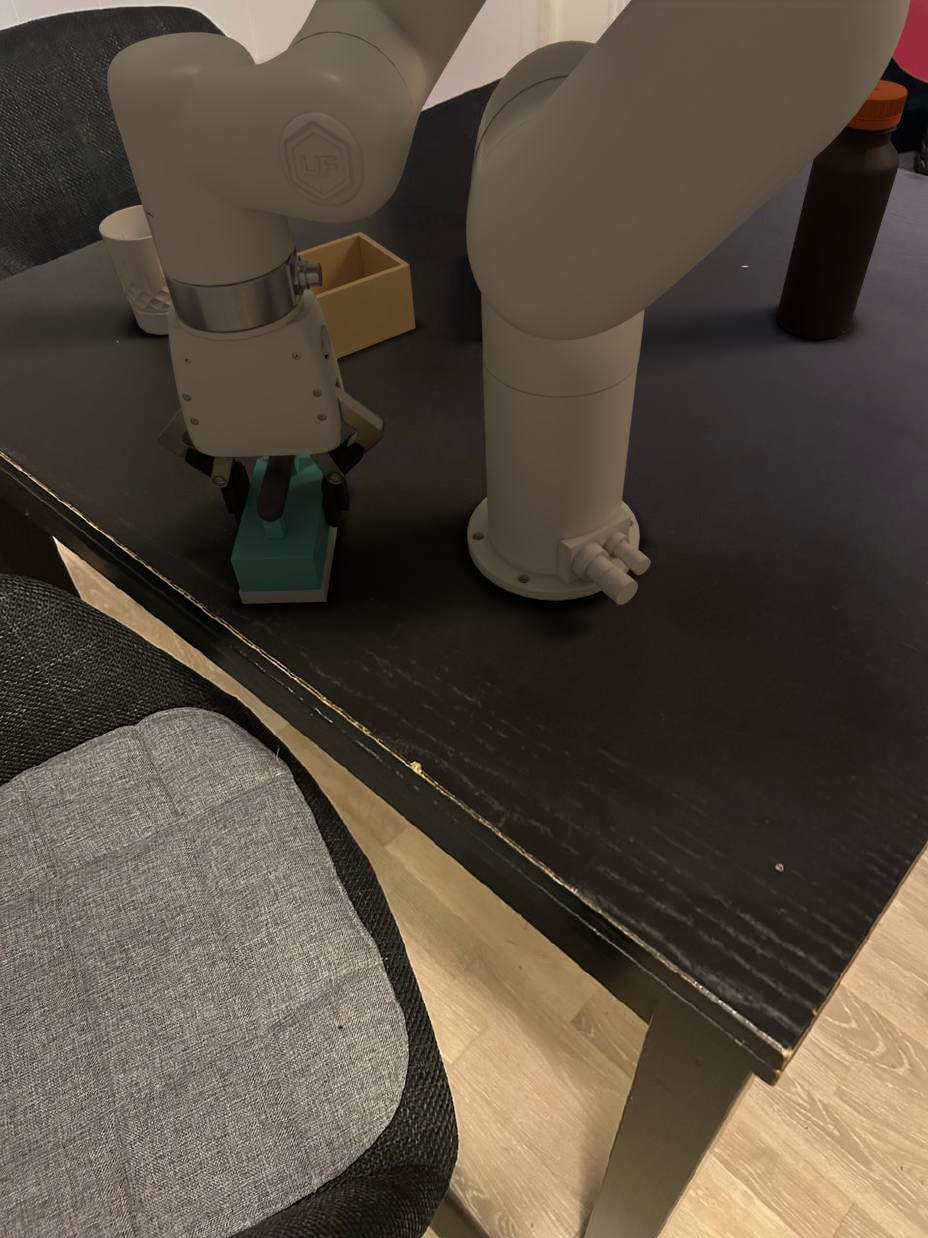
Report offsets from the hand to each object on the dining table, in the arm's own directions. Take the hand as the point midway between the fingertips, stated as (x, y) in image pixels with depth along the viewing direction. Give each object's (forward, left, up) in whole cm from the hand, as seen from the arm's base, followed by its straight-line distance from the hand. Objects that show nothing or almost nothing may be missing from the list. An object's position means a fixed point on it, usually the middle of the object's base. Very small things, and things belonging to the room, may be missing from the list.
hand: (291, 514), depth 65 cm
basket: (+25, -17, -2) cm, 30 cm away
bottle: (-3, -54, -2) cm, 54 cm away
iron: (+1, 0, -2) cm, 2 cm away
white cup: (+38, -5, -2) cm, 38 cm away
